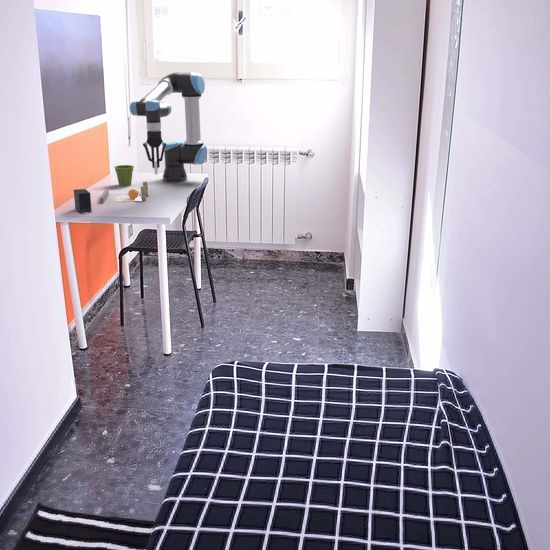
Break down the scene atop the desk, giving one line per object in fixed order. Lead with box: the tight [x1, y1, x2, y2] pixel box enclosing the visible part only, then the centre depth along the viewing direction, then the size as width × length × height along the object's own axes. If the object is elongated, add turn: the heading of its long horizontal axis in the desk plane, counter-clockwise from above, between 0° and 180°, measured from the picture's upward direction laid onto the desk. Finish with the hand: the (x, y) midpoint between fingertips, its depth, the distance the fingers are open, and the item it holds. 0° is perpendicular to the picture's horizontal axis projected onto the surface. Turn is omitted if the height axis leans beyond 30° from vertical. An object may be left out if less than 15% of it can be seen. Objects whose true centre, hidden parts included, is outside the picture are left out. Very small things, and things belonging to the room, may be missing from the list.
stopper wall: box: [99, 189, 110, 204], centre depth 368 cm, size 20×2×3 cm, turn 5°
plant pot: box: [113, 164, 135, 187], centre depth 400 cm, size 12×12×11 cm
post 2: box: [140, 185, 147, 202], centre depth 363 cm, size 2×2×8 cm
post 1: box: [142, 181, 149, 197], centre depth 375 cm, size 2×2×8 cm
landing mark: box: [115, 195, 135, 203], centre depth 370 cm, size 14×14×1 cm
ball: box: [127, 188, 139, 199], centre depth 369 cm, size 6×6×6 cm
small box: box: [73, 188, 92, 214], centre depth 343 cm, size 11×6×10 cm, turn 29°
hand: (156, 173), depth 366 cm, fingers closed
